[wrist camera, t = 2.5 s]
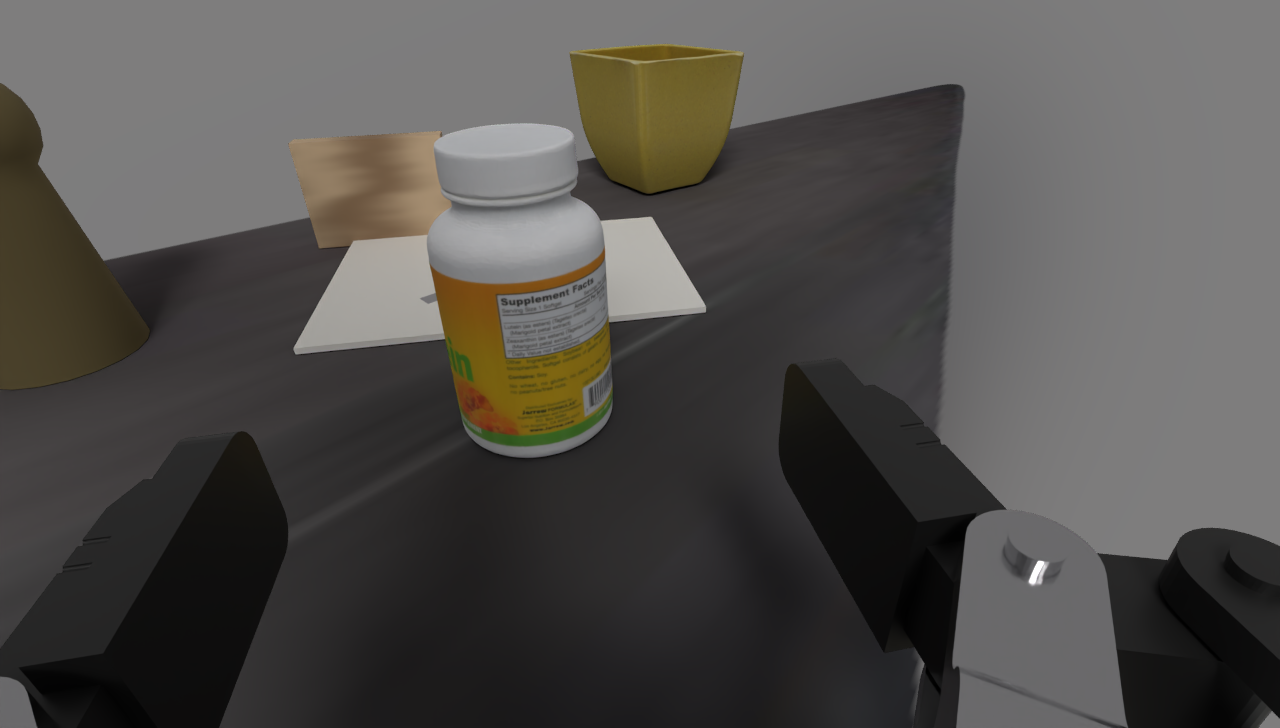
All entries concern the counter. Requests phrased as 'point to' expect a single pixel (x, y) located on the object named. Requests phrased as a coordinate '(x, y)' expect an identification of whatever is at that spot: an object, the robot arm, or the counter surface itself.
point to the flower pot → (656, 110)
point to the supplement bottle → (521, 290)
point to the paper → (407, 304)
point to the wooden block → (369, 186)
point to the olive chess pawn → (51, 273)
